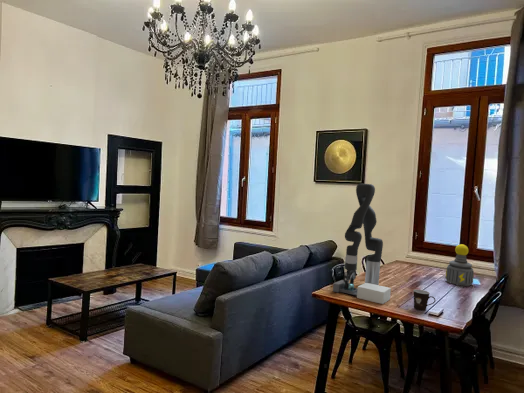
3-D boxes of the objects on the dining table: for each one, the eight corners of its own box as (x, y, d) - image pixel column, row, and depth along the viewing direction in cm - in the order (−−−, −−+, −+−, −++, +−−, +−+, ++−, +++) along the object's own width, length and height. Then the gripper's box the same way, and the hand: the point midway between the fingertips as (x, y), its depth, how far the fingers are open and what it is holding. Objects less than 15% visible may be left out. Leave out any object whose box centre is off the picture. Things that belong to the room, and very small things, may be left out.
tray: (341, 287, 254) (342, 279, 253) (368, 293, 243) (369, 285, 243) (332, 291, 242) (333, 283, 242) (360, 298, 232) (361, 289, 231)
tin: (346, 288, 248) (346, 282, 247) (355, 290, 244) (355, 284, 244) (342, 289, 243) (343, 283, 243) (351, 292, 239) (352, 285, 239)
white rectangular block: (364, 293, 244) (365, 282, 244) (389, 299, 235) (390, 288, 235) (356, 297, 233) (357, 286, 233) (382, 304, 224) (383, 292, 224)
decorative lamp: (447, 284, 287) (451, 244, 286) (443, 278, 305) (446, 241, 304) (475, 287, 281) (479, 247, 280) (469, 281, 299) (473, 244, 298)
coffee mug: (408, 306, 223) (410, 289, 222) (420, 305, 226) (421, 289, 225) (423, 313, 212) (425, 295, 212) (435, 312, 215) (437, 295, 215)
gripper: (349, 259, 251) (347, 283, 251) (341, 262, 239) (339, 287, 240) (360, 261, 246) (358, 286, 247) (352, 264, 235) (350, 290, 235)
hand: (349, 287), depth 243 cm, fingers open, 8 cm apart
